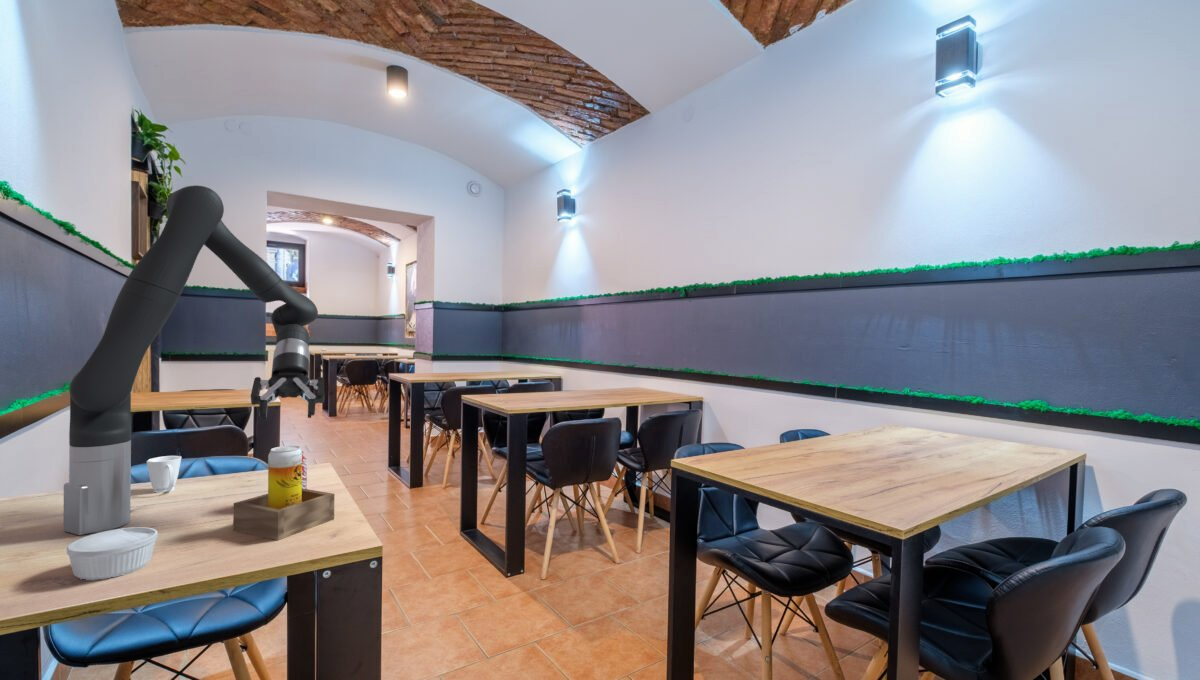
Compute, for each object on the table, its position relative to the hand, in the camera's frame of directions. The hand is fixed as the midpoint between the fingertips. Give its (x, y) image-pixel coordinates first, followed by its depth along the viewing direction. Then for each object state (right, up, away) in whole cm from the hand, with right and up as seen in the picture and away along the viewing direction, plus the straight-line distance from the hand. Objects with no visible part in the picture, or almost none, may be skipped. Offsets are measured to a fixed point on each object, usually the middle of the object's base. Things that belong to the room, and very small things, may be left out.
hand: (287, 416), depth 115 cm
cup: (-41, -22, +17) cm, 49 cm away
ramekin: (-14, -22, -26) cm, 37 cm away
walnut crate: (+2, -22, -4) cm, 23 cm away
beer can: (+2, -21, -4) cm, 22 cm away
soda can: (-5, -22, +9) cm, 24 cm away
